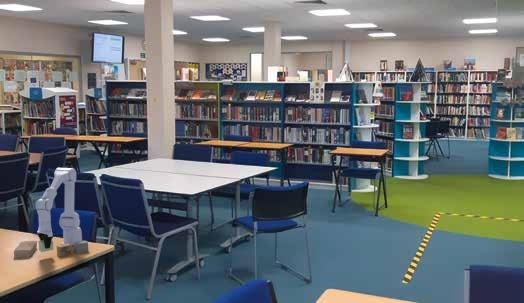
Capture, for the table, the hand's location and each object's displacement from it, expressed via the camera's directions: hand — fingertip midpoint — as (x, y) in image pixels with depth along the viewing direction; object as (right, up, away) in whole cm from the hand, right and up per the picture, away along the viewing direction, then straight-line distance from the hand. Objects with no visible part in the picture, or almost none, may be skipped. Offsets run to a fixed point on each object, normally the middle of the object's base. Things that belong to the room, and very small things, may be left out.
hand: (46, 247), depth 267 cm
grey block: (+15, -4, +11) cm, 19 cm away
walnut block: (+7, -5, +6) cm, 11 cm away
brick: (-14, -5, +8) cm, 17 cm away
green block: (0, -1, 0) cm, 2 cm away
